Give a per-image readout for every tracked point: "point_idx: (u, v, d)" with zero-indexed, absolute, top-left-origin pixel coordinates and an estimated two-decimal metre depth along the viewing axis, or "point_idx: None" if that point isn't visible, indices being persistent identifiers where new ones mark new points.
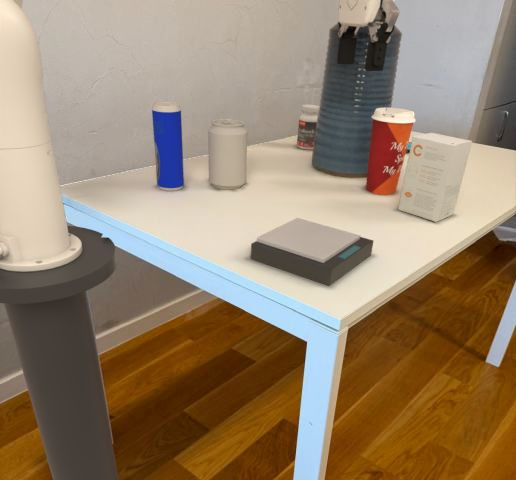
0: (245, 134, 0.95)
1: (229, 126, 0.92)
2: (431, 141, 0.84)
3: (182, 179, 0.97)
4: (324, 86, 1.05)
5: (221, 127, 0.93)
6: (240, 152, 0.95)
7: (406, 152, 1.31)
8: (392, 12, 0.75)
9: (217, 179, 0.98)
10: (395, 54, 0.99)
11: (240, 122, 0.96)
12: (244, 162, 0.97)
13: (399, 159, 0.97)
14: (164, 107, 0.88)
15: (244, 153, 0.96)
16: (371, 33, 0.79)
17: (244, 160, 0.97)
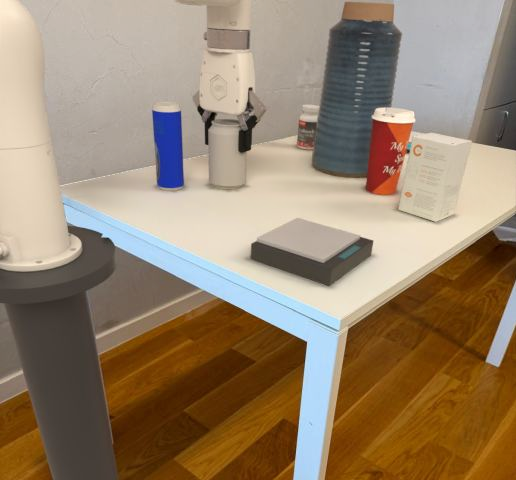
0: None
1: (229, 126, 0.92)
2: (431, 141, 0.84)
3: (182, 179, 0.97)
4: (324, 86, 1.05)
5: (221, 127, 0.93)
6: None
7: (406, 152, 1.31)
8: (262, 110, 0.89)
9: (217, 179, 0.98)
10: (395, 54, 0.99)
11: None
12: (244, 162, 0.97)
13: (399, 159, 0.97)
14: (164, 107, 0.88)
15: (244, 153, 0.96)
16: (241, 122, 0.92)
17: (244, 160, 0.97)
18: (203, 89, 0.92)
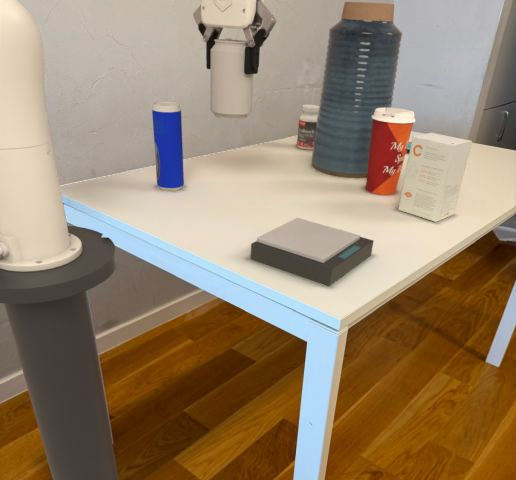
0: None
1: (234, 43, 0.83)
2: (431, 141, 0.84)
3: (182, 179, 0.97)
4: (324, 86, 1.05)
5: (226, 44, 0.83)
6: (246, 75, 0.86)
7: (406, 152, 1.31)
8: (271, 21, 0.79)
9: (220, 106, 0.88)
10: (395, 54, 0.99)
11: None
12: (250, 88, 0.88)
13: (399, 159, 0.97)
14: (164, 107, 0.88)
15: (250, 77, 0.87)
16: (247, 37, 0.82)
17: (250, 85, 0.87)
18: (205, 0, 0.82)
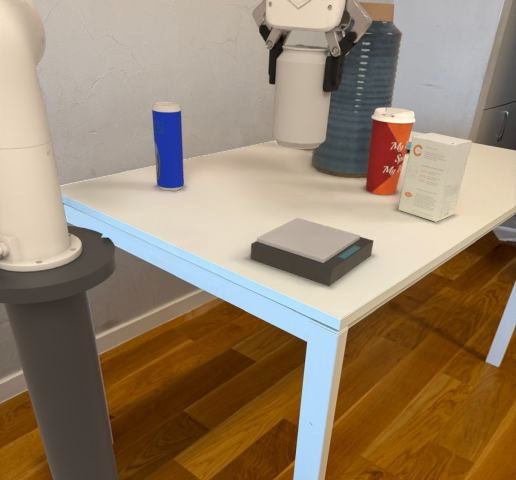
0: None
1: (312, 50, 0.62)
2: (431, 141, 0.84)
3: (182, 179, 0.97)
4: None
5: (300, 52, 0.62)
6: (324, 92, 0.65)
7: (406, 152, 1.31)
8: (367, 21, 0.58)
9: (287, 133, 0.67)
10: (395, 54, 0.99)
11: (323, 49, 0.65)
12: (327, 109, 0.67)
13: (399, 159, 0.97)
14: (164, 107, 0.88)
15: (329, 94, 0.66)
16: (331, 44, 0.61)
17: (328, 105, 0.67)
18: None
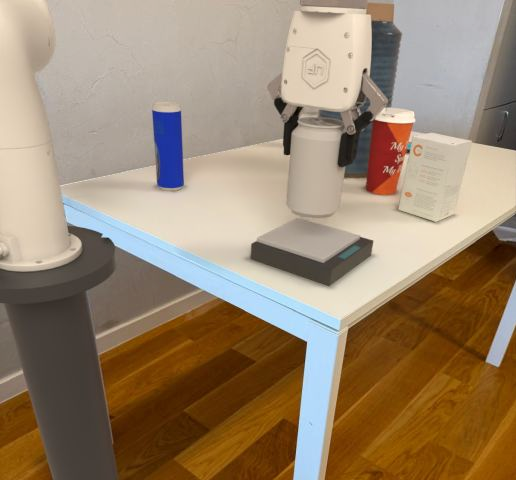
0: None
1: (327, 128, 0.62)
2: (431, 141, 0.84)
3: (182, 179, 0.97)
4: None
5: (316, 129, 0.62)
6: None
7: (406, 152, 1.31)
8: (383, 103, 0.58)
9: (302, 204, 0.67)
10: (395, 54, 0.99)
11: (338, 122, 0.65)
12: (342, 180, 0.67)
13: (399, 159, 0.97)
14: (164, 107, 0.88)
15: (343, 167, 0.66)
16: (346, 122, 0.61)
17: (342, 177, 0.67)
18: (289, 72, 0.61)
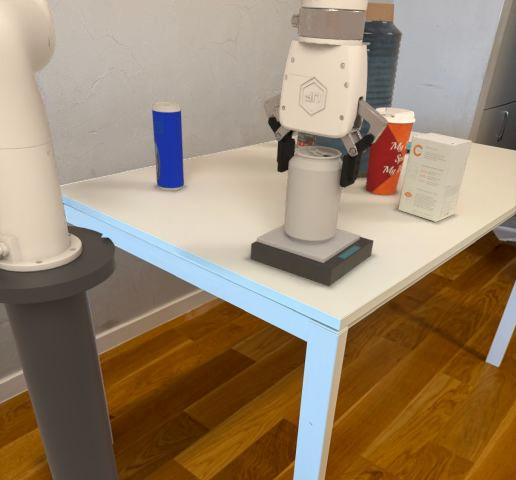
0: None
1: (323, 158, 0.64)
2: (431, 141, 0.84)
3: (182, 179, 0.97)
4: None
5: (312, 160, 0.64)
6: (334, 195, 0.67)
7: (406, 152, 1.31)
8: (382, 124, 0.59)
9: (299, 230, 0.69)
10: (395, 54, 0.99)
11: (334, 151, 0.67)
12: (338, 207, 0.69)
13: (399, 159, 0.97)
14: (164, 107, 0.88)
15: (339, 195, 0.68)
16: (347, 145, 0.62)
17: (338, 204, 0.69)
18: (287, 99, 0.63)
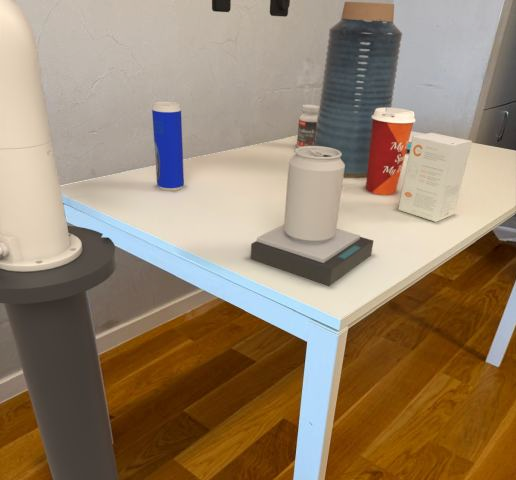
0: (343, 169, 0.66)
1: (323, 158, 0.64)
2: (431, 141, 0.84)
3: (182, 179, 0.97)
4: (324, 86, 1.05)
5: (312, 160, 0.64)
6: (334, 195, 0.67)
7: (406, 152, 1.31)
8: None
9: (299, 230, 0.69)
10: (395, 54, 0.99)
11: (334, 151, 0.67)
12: (338, 207, 0.69)
13: (399, 159, 0.97)
14: (164, 107, 0.88)
15: (339, 195, 0.68)
16: None
17: (338, 204, 0.69)
18: None
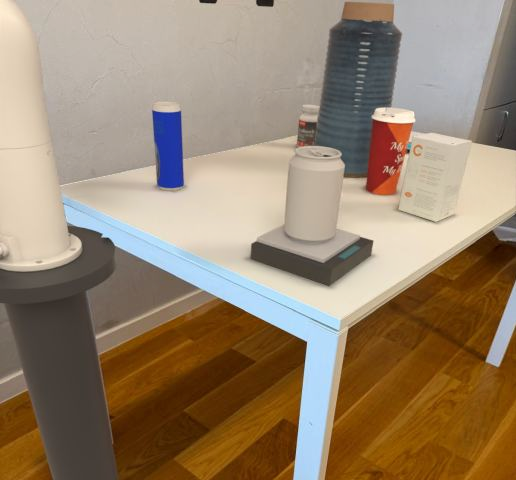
0: (343, 169, 0.66)
1: (323, 158, 0.64)
2: (431, 141, 0.84)
3: (182, 179, 0.97)
4: (324, 86, 1.05)
5: (312, 160, 0.64)
6: (334, 195, 0.67)
7: (406, 152, 1.31)
8: None
9: (299, 230, 0.69)
10: (395, 54, 0.99)
11: (334, 151, 0.67)
12: (338, 207, 0.69)
13: (399, 159, 0.97)
14: (164, 107, 0.88)
15: (339, 195, 0.68)
16: None
17: (338, 204, 0.69)
18: None
